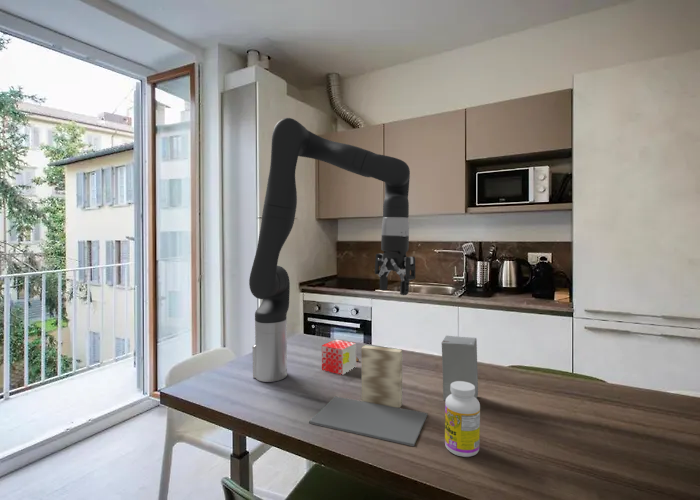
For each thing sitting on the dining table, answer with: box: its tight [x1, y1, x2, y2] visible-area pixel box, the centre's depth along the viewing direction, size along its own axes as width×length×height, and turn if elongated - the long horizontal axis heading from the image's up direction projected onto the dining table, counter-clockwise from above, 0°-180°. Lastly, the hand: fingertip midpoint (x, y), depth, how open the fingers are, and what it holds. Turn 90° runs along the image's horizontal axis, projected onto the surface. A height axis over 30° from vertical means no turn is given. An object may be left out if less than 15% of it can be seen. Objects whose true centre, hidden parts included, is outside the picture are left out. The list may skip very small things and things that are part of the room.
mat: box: [308, 395, 429, 447], centre depth 86 cm, size 24×14×1 cm, turn 67°
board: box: [361, 344, 403, 408], centre depth 94 cm, size 10×2×14 cm, turn 67°
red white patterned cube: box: [321, 339, 357, 376], centre depth 119 cm, size 8×8×8 cm
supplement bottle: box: [444, 381, 481, 458], centre depth 74 cm, size 7×7×13 cm
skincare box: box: [441, 335, 479, 401], centre depth 97 cm, size 8×7×16 cm
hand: (393, 292), depth 104 cm, fingers open, 8 cm apart
